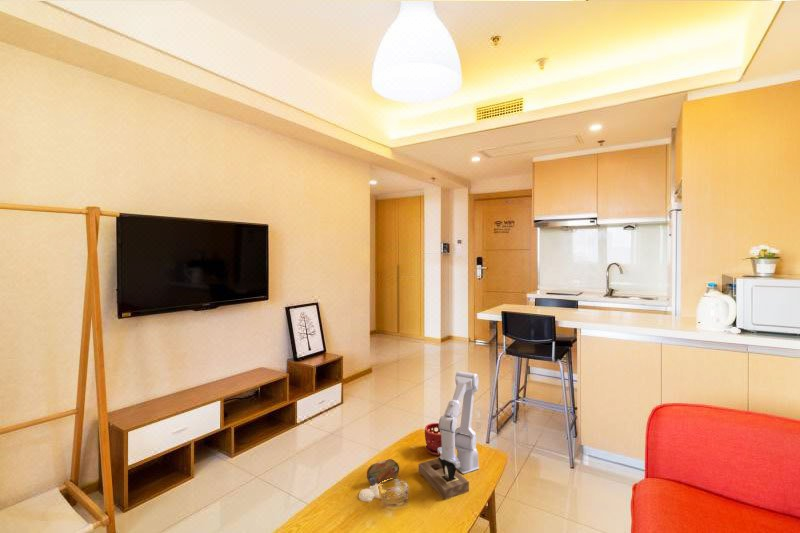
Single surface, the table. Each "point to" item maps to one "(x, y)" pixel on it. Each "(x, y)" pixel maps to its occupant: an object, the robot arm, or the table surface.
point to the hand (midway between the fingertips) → (448, 476)
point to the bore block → (443, 479)
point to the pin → (447, 475)
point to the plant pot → (433, 438)
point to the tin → (382, 471)
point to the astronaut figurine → (369, 493)
